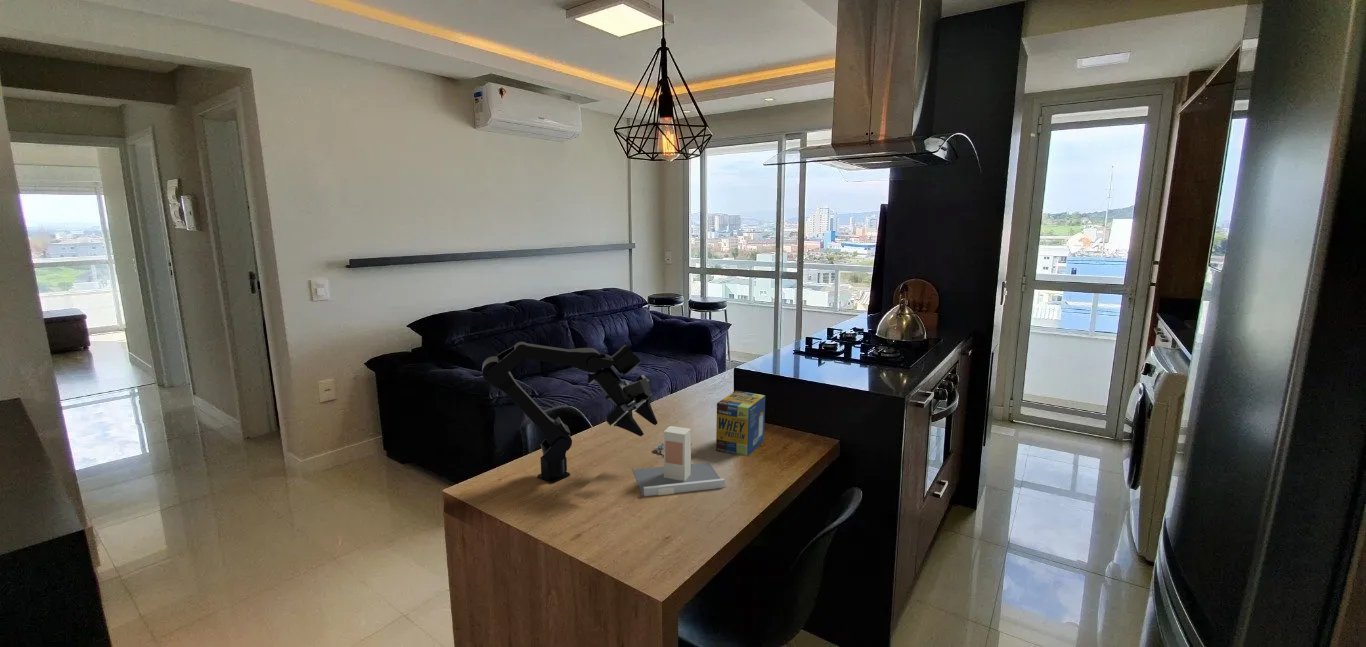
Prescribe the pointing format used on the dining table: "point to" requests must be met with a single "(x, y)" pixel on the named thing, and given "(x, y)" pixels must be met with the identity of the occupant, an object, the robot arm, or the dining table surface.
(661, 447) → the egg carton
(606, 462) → the dining table surface
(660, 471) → the shelf board
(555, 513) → the dining table surface
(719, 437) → the protein box
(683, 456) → the tea box
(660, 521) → the dining table surface
